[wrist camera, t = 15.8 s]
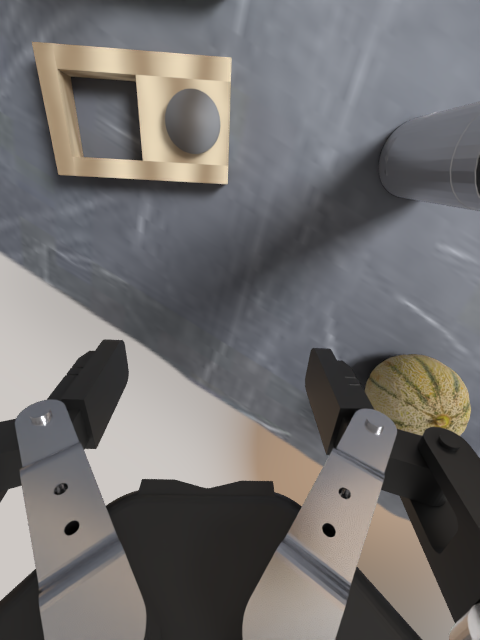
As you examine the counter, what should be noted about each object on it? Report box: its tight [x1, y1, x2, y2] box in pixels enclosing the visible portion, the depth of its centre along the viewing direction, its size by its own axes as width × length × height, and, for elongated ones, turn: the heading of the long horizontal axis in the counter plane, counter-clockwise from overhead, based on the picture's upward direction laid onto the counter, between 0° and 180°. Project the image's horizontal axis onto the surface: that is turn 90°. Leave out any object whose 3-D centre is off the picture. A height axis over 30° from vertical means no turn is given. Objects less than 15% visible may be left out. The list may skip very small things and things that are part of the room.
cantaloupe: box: [365, 354, 471, 436], centre depth 48 cm, size 15×15×15 cm
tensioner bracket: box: [32, 42, 231, 184], centre depth 34 cm, size 20×12×4 cm, turn 87°
